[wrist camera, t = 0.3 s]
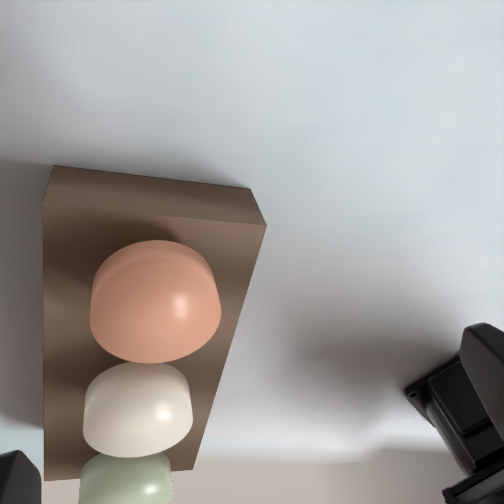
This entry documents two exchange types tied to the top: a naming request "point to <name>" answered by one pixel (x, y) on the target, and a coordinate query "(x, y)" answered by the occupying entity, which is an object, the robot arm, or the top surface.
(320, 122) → the top surface
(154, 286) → the button terracotta
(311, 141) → the top surface
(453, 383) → the robot arm
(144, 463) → the button sage
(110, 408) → the button cream
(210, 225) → the console
